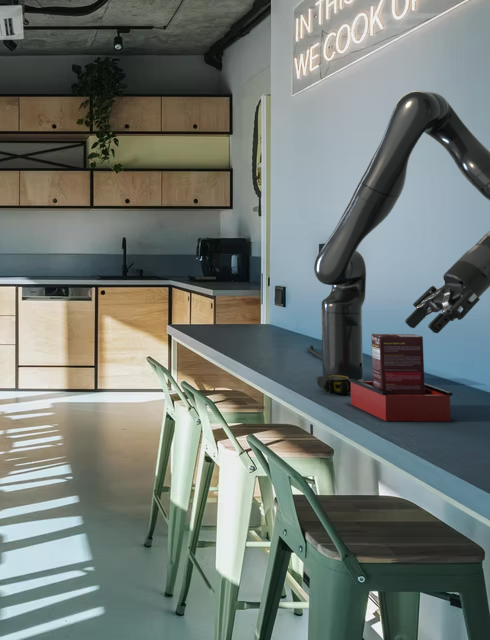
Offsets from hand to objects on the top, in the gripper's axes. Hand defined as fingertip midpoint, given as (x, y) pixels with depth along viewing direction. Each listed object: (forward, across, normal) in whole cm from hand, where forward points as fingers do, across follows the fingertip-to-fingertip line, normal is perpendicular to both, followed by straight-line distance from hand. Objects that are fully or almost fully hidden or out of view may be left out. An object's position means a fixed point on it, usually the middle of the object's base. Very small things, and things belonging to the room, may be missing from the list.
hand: (420, 327), depth 150 cm
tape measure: (+19, -19, +6) cm, 28 cm away
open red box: (+16, 0, +9) cm, 18 cm away
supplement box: (+16, 0, +9) cm, 18 cm away
